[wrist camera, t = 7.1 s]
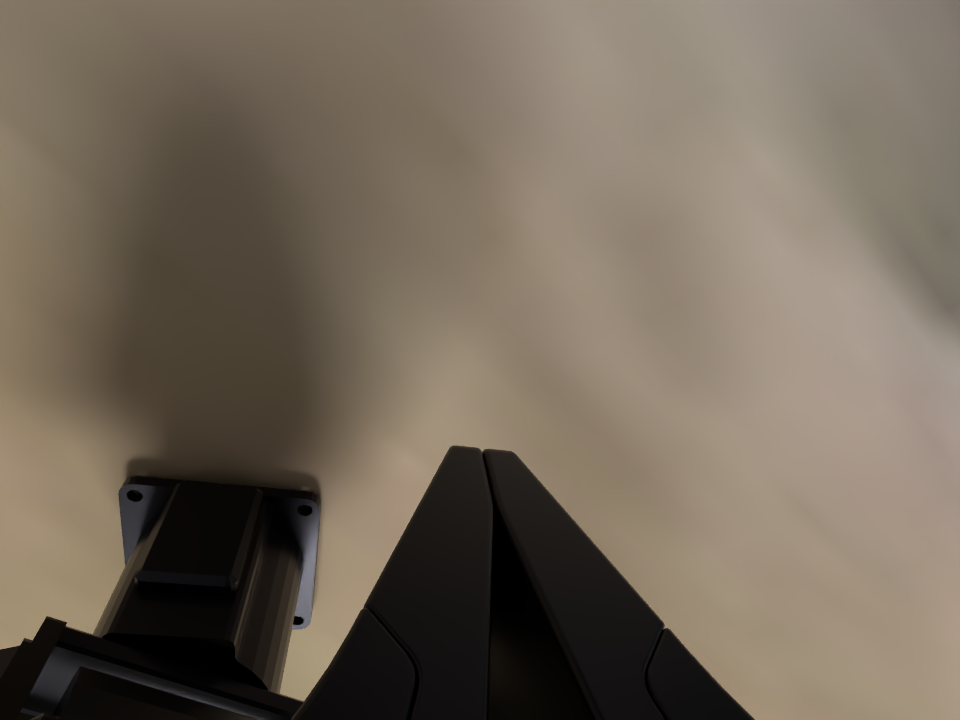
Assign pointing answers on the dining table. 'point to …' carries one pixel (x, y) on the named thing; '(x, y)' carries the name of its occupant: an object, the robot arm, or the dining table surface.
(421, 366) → the dining table surface
